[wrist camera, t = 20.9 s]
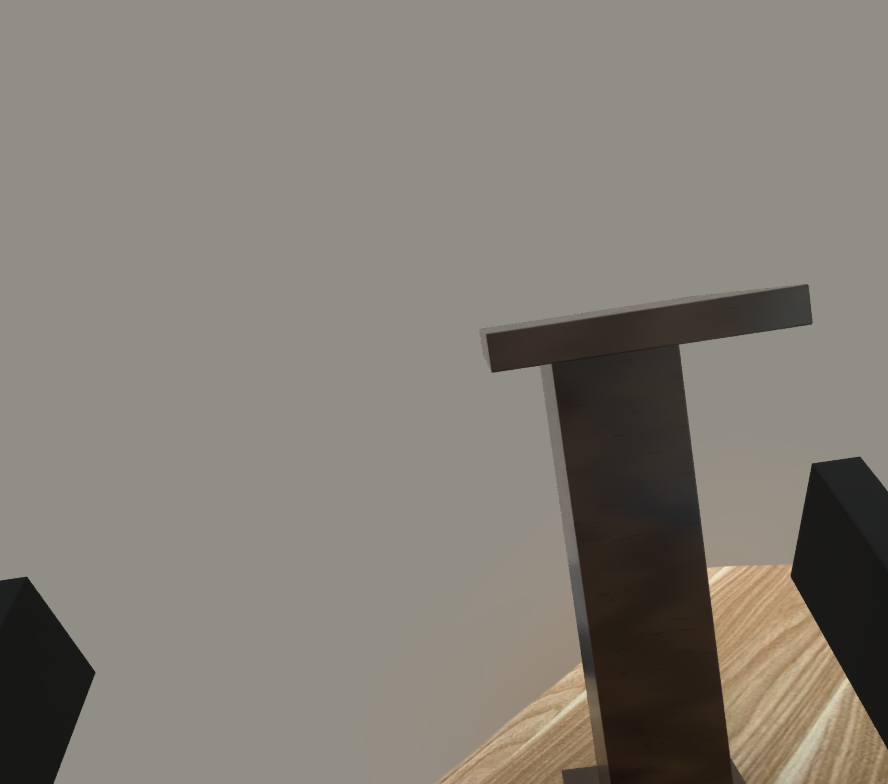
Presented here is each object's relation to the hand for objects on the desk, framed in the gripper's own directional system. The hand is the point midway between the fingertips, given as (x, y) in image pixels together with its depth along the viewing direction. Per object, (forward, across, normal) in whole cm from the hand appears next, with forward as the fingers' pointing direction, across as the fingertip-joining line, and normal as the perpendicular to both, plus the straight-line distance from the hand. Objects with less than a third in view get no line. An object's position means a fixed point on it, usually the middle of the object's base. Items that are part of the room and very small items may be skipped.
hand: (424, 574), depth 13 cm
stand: (+7, +8, -33) cm, 34 cm away
